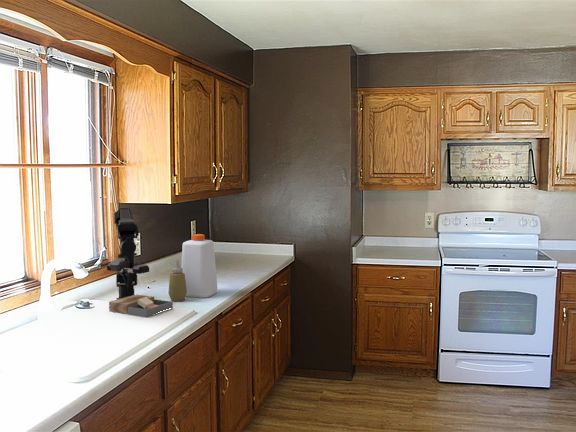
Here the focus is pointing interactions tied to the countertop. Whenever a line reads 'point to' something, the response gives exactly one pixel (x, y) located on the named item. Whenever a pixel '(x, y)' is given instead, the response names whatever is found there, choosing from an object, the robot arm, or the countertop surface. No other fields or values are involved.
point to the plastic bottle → (199, 267)
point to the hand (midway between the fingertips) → (128, 288)
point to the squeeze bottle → (177, 284)
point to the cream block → (144, 302)
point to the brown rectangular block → (125, 303)
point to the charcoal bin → (142, 312)
